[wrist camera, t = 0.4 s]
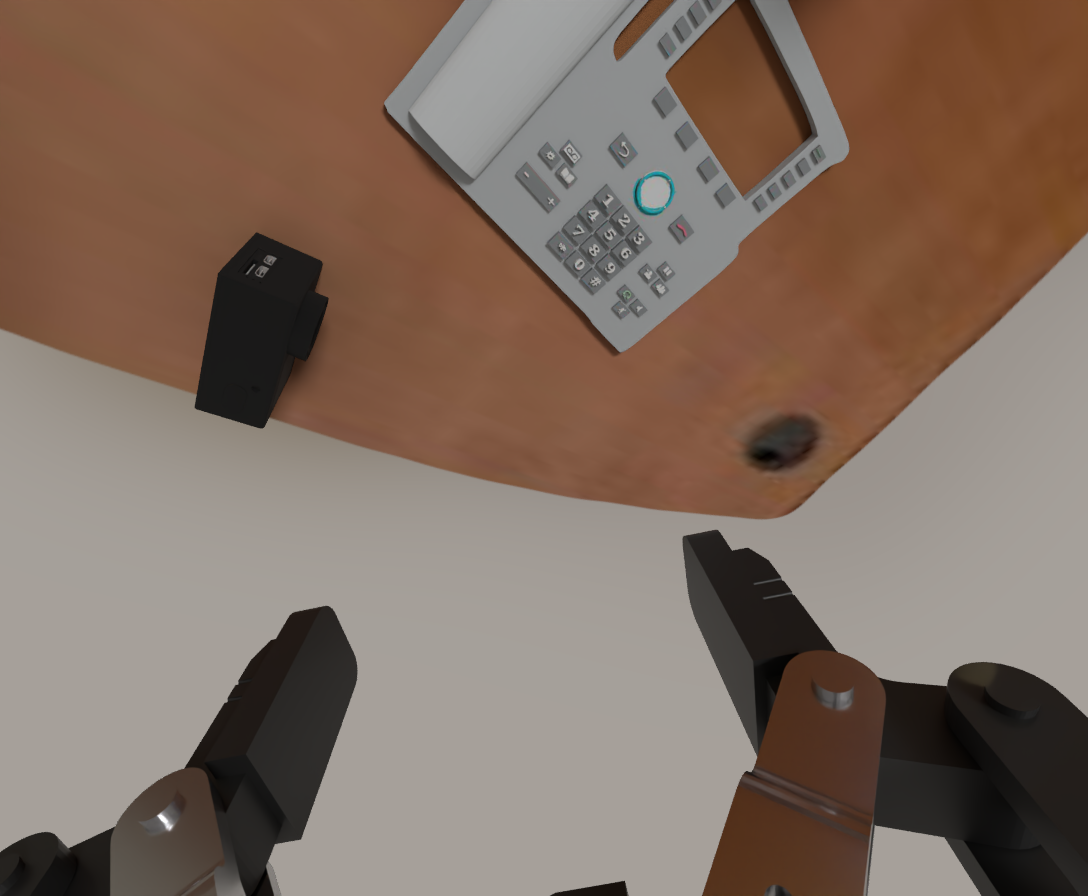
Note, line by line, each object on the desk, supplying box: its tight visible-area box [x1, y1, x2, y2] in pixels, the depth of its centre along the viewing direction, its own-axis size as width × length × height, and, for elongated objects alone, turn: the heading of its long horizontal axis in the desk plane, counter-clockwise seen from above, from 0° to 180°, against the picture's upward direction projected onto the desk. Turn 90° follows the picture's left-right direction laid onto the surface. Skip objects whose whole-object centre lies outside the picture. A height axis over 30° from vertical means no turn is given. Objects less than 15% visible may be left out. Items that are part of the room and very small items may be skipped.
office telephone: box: [384, 0, 849, 353], centre depth 32 cm, size 23×3×20 cm
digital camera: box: [195, 233, 329, 428], centre depth 35 cm, size 10×5×7 cm, turn 151°
